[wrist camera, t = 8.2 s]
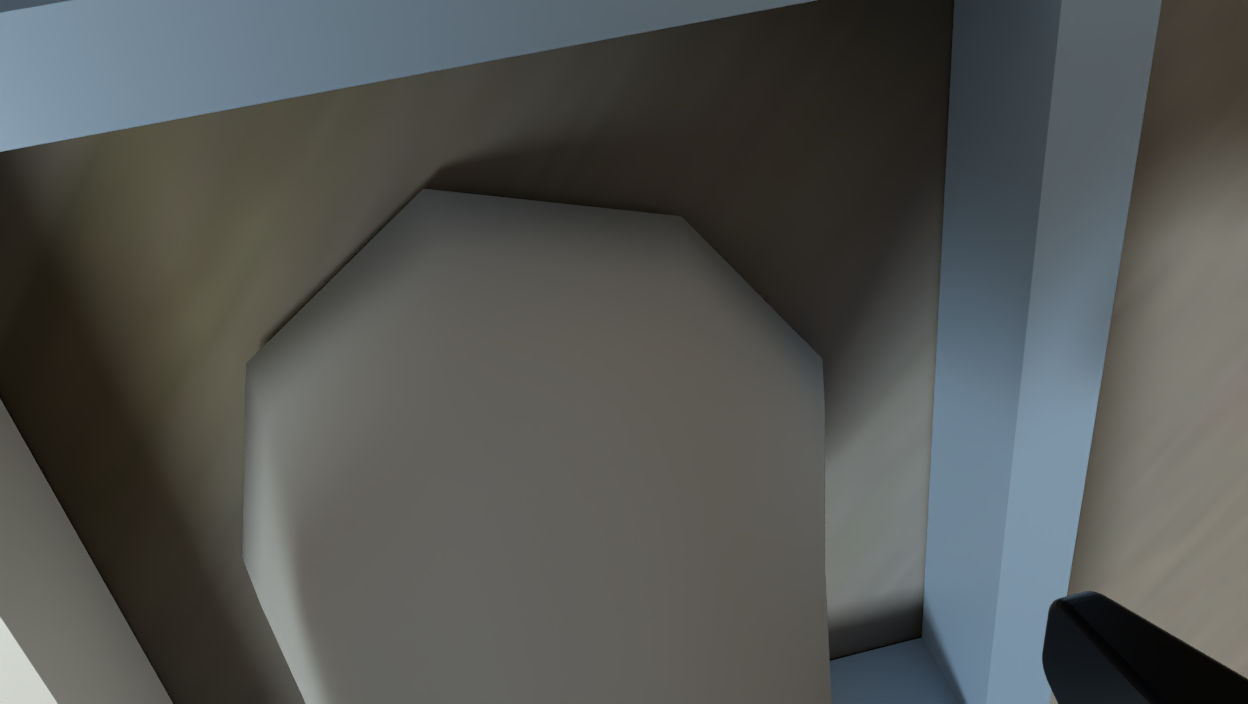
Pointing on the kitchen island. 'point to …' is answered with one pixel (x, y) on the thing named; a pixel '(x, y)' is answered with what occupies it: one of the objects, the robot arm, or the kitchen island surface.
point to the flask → (539, 469)
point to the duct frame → (625, 5)
